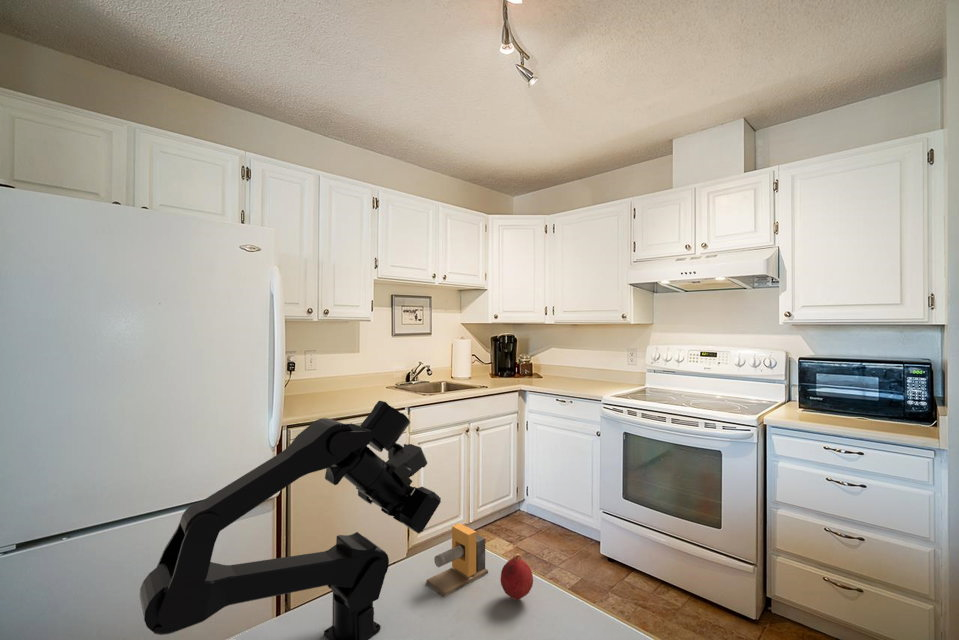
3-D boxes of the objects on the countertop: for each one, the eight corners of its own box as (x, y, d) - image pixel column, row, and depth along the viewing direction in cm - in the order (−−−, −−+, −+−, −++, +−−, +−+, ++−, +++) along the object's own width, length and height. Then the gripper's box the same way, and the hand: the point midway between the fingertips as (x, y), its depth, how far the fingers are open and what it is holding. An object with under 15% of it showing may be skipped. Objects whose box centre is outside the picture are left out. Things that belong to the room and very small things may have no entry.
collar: (468, 577, 81) (468, 534, 81) (452, 566, 85) (452, 526, 85) (476, 573, 83) (476, 531, 83) (459, 562, 86) (459, 523, 87)
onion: (517, 614, 72) (517, 567, 72) (493, 598, 76) (493, 553, 77) (539, 600, 76) (539, 555, 76) (516, 585, 80) (516, 543, 80)
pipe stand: (444, 596, 77) (444, 560, 77) (426, 583, 81) (426, 548, 81) (488, 573, 84) (488, 540, 85) (469, 561, 88) (469, 530, 89)
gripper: (431, 443, 68) (481, 495, 75) (373, 424, 81) (420, 469, 88) (387, 507, 62) (446, 556, 69) (333, 475, 76) (387, 519, 83)
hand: (424, 520), depth 78 cm, fingers closed
